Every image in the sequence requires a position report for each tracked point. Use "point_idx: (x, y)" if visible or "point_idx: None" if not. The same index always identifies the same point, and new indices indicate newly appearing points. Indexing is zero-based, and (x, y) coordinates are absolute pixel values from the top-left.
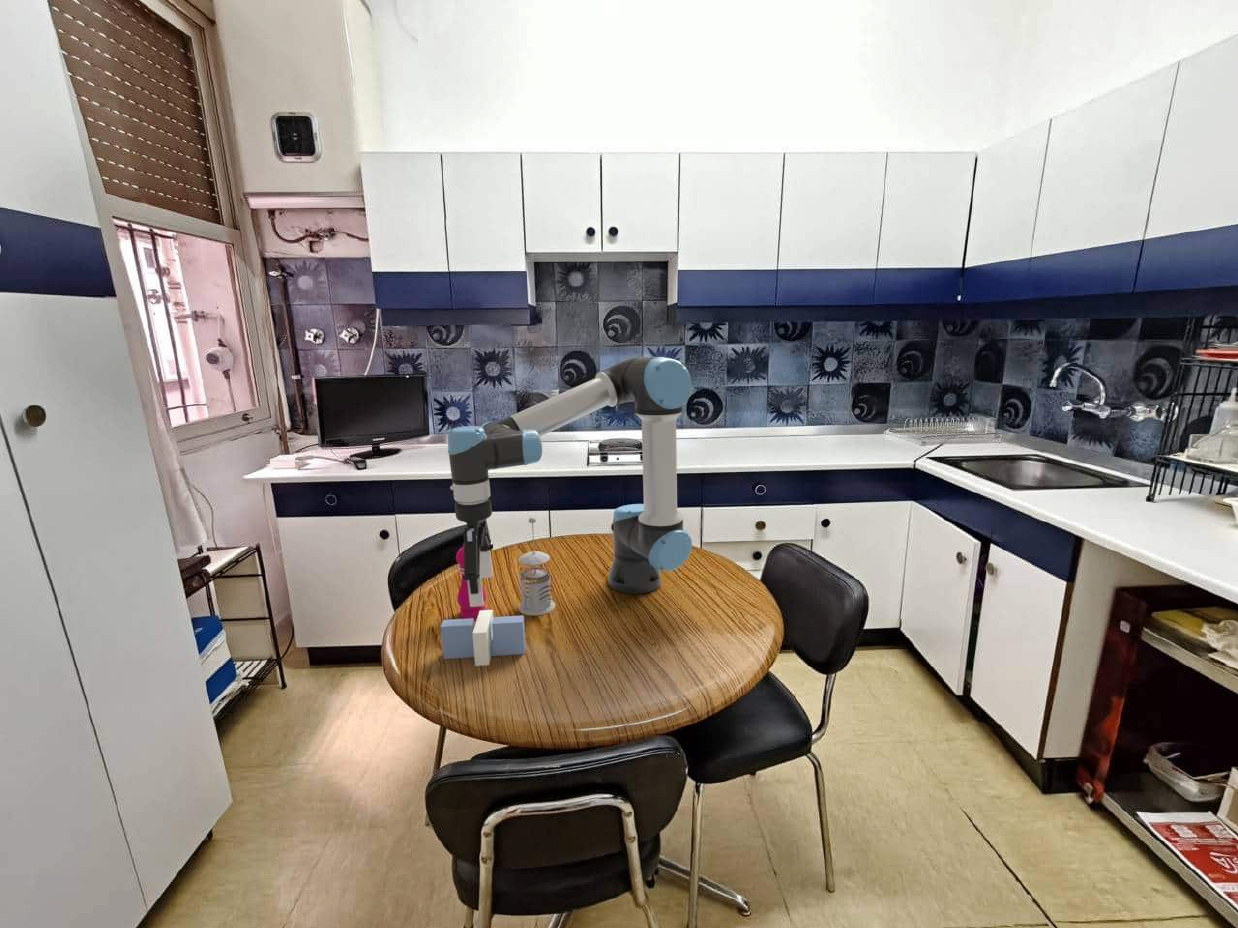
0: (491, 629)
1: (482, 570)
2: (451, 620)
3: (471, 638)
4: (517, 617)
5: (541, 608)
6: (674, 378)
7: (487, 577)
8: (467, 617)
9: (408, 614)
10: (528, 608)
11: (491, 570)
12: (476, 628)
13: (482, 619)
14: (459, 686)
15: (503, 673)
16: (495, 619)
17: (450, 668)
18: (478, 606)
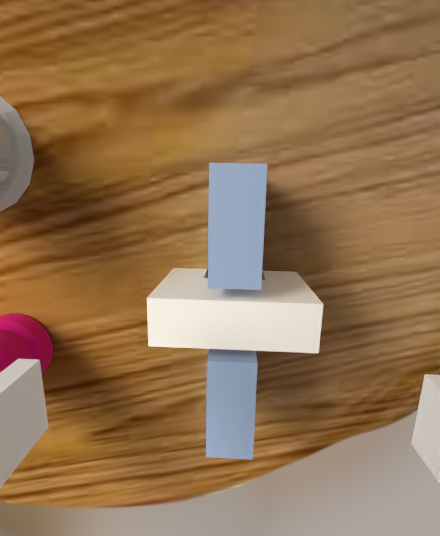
0: None
1: (9, 456)
2: (213, 431)
3: None
4: (224, 189)
5: (3, 129)
6: None
7: (43, 389)
8: (50, 358)
9: (28, 497)
10: (4, 177)
11: (3, 392)
12: (285, 342)
13: (221, 328)
14: (375, 332)
15: (343, 228)
16: (228, 279)
17: (292, 364)
18: (19, 341)
